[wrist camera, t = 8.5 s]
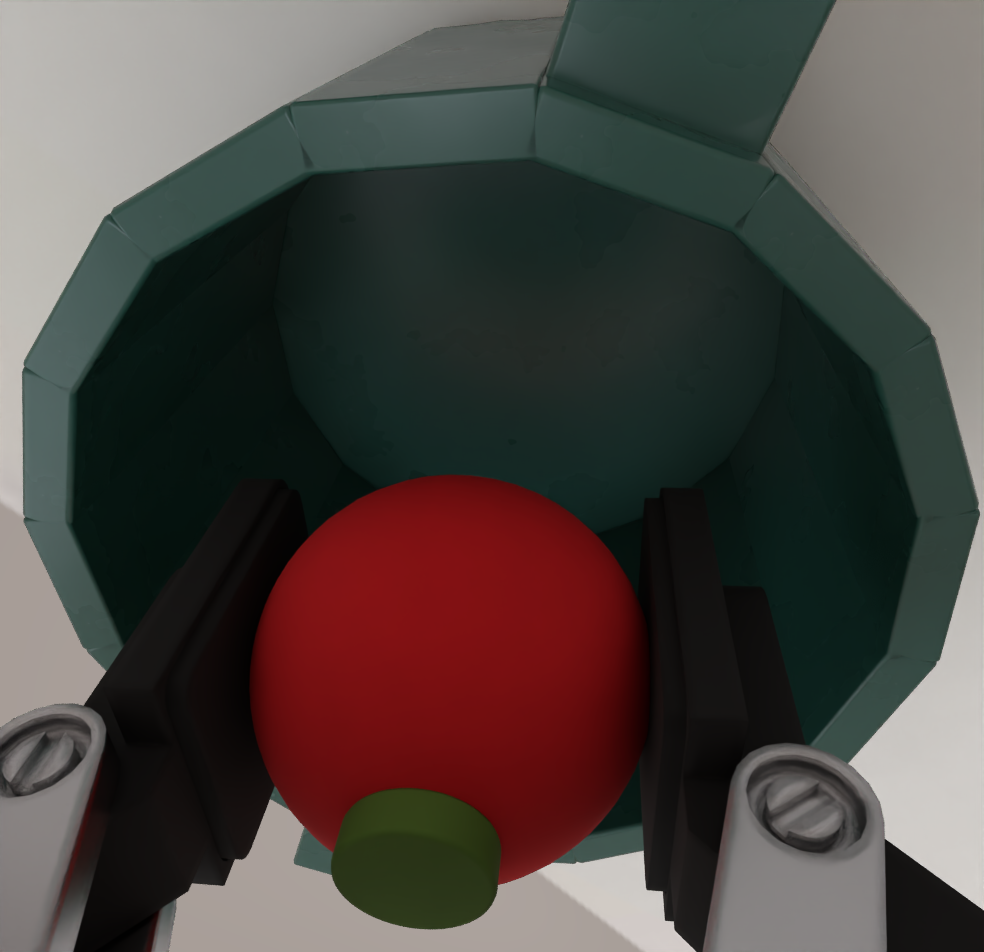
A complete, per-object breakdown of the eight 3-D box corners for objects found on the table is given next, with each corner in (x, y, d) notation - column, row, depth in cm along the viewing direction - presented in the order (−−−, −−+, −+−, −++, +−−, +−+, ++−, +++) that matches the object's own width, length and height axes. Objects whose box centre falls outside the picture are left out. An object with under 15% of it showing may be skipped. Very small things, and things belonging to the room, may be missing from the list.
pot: (1024, -4, 14) (1487, 54, 7) (626, 669, 24) (639, 999, 17) (338, -274, 13) (10, -548, 6) (210, 539, 23) (23, 827, 16)
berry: (701, 472, 11) (770, 809, 7) (573, 703, 14) (563, 1054, 9) (354, 355, 11) (190, 635, 6) (290, 616, 13) (144, 941, 9)
